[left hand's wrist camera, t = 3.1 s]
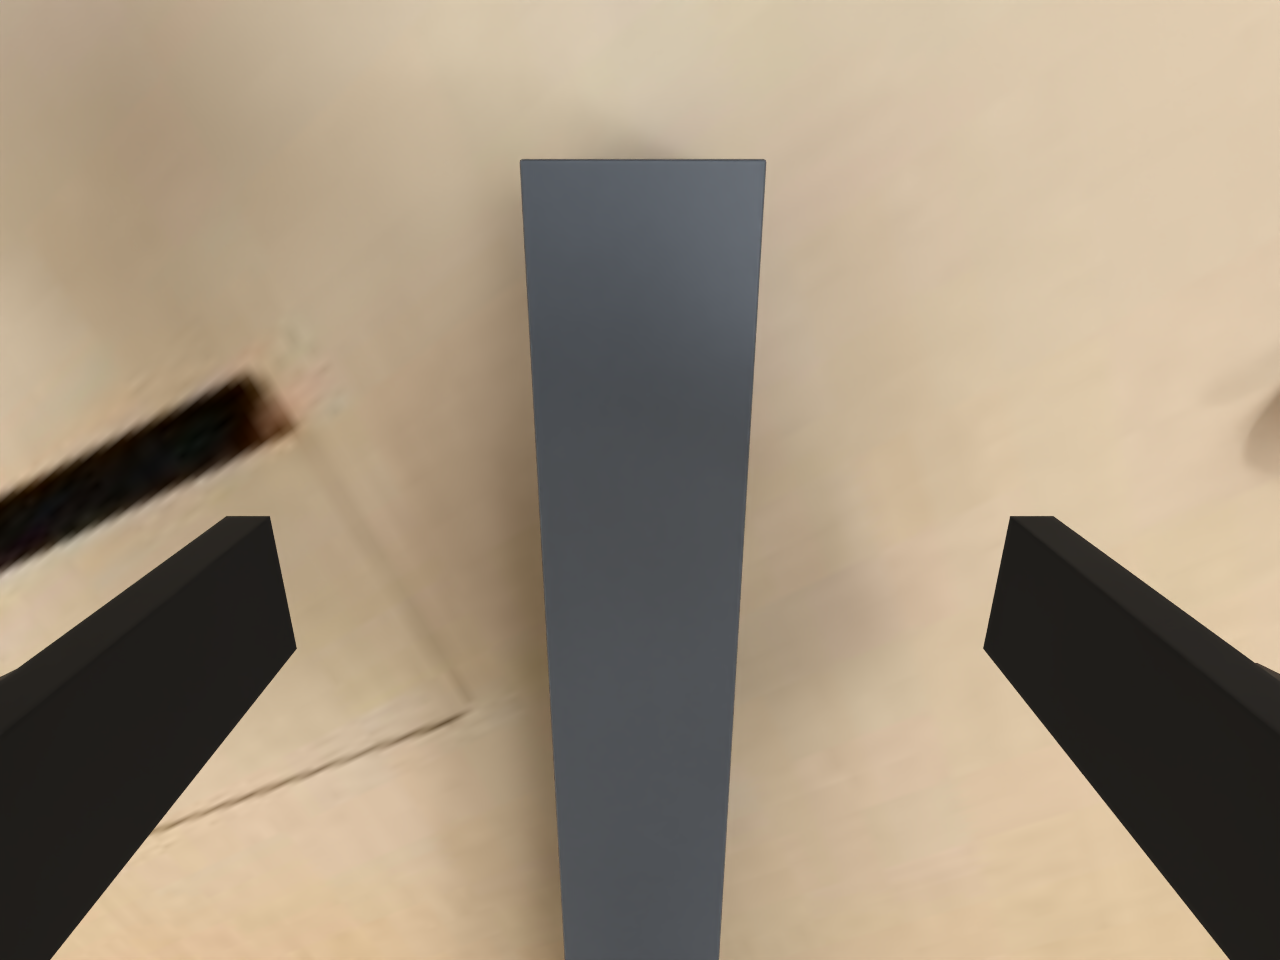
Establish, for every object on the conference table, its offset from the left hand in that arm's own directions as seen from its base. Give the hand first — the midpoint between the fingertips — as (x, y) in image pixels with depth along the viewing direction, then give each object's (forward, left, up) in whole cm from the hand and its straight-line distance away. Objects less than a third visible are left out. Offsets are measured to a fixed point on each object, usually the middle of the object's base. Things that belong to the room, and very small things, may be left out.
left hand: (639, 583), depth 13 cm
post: (+25, +5, -13) cm, 29 cm away
